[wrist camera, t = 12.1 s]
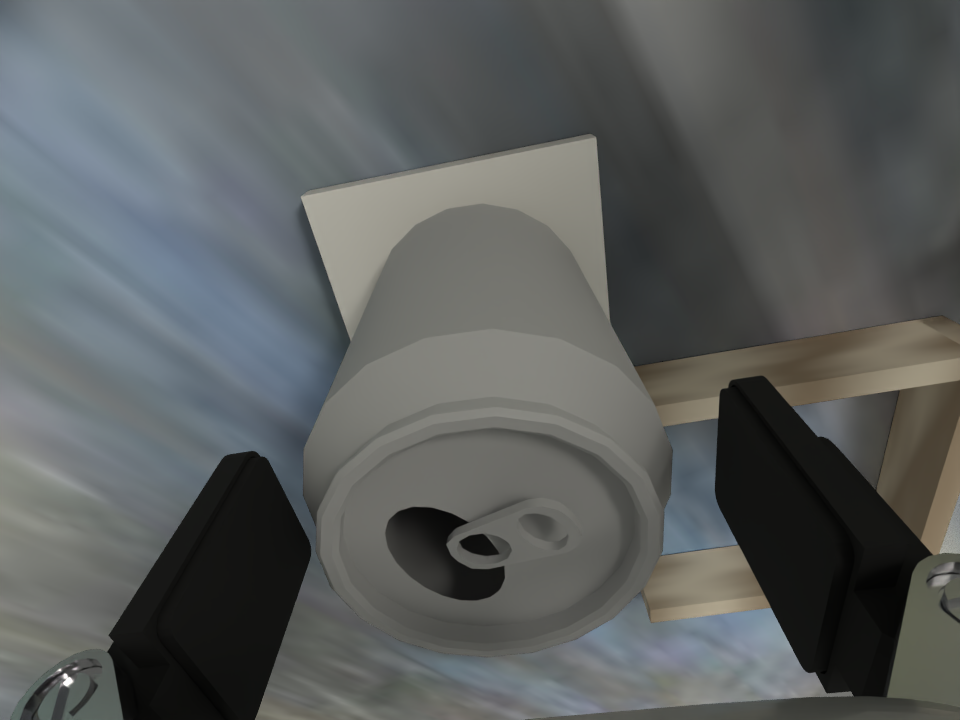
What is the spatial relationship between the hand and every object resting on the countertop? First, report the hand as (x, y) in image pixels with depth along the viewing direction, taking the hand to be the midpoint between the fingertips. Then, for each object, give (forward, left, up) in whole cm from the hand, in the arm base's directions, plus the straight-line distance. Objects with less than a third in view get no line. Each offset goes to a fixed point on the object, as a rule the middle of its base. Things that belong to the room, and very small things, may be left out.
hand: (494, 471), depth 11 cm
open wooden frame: (-11, +11, -11) cm, 20 cm away
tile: (+1, 0, -11) cm, 11 cm away
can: (0, 0, -10) cm, 10 cm away
